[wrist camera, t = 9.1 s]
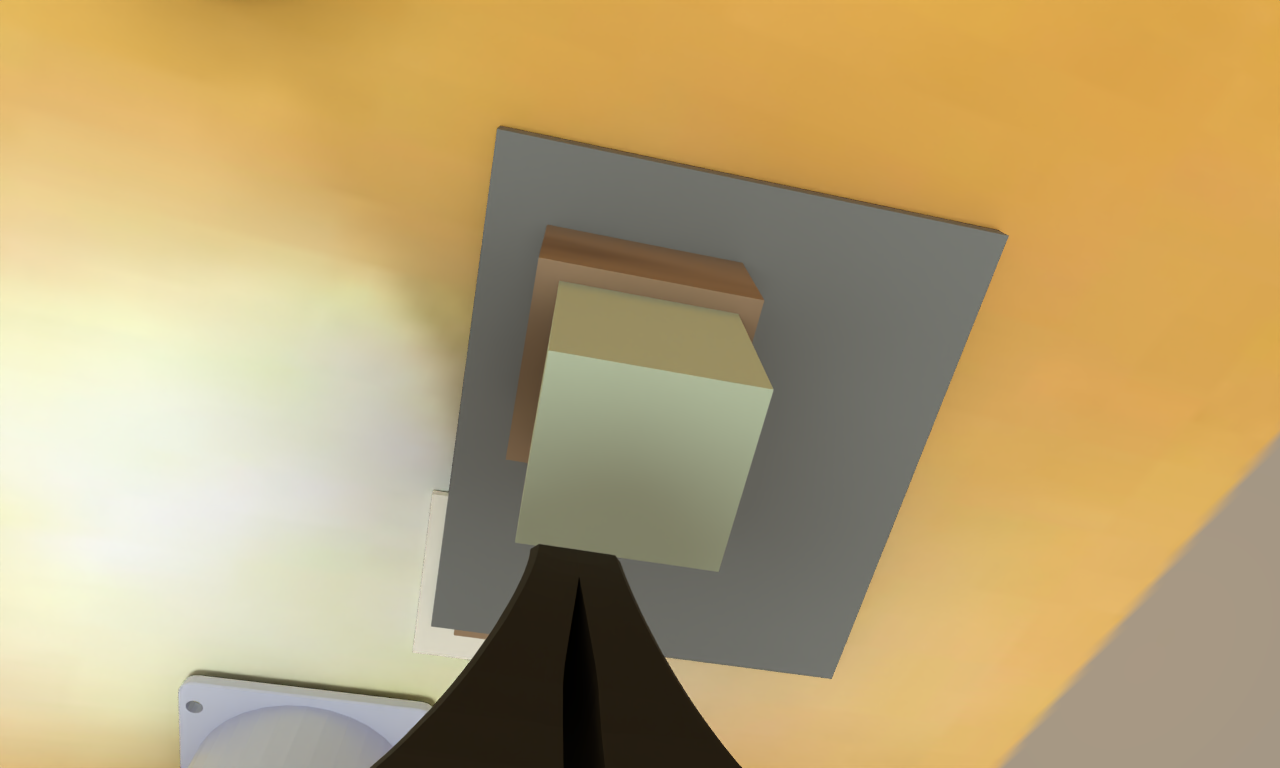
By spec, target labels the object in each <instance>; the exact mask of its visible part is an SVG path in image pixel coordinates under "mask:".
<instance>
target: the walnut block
mask: <svg viewBox="0 0 1280 768" xmlns="http://www.w3.org/2000/svg"><path fill="white" fill-rule="evenodd" d="M559 281H564V282H569V283H574V284H580V285H585V286H590V287H596V288H601V289H607V290H612V291H617V292H623V293H628V294H634V295H639V296H644V297H650V298H655V299H660V300H666V301H671V302H677V303H682V304H687V305H693V306H698V307H703V308H709V309H714V310H720V311H725V312H730V313H736V314H739V317H740V319H741V321H742V323H743V325H744V327H745V329H746V332H747V334H748V336H749V338H750V340H751V342H753V338H754V335H755V331H756V328H757V324H758V321H759V317H760V314H761V310H762V307H763V303H764V299H763V297H762V295H761V294H760V292H759V290H758V289H757V287H756V285H755V283H754V282H753V280H752V278H751V277H750V275H749V273H748V271H747V270H746V268H745V266H744V264H743V263H741V262H736V261H731V260H726V259H721V258H716V257H711V256H705V255H700V254H695V253H690V252H685V251H680V250H675V249H670V248H665V247H660V246H654V245H649V244H644V243H639V242H634V241H629V240H624V239H619V238H614V237H608V236H603V235H598V234H593V233H588V232H583V231H578V230H573V229H568V228H563V227H557V226H552V225H547V227H546V231H545V235H544V238H543V242H542V246H541V250H540V254H539V258H538V264H537V271H536V277H535V283H534V289H533V295H532V301H531V307H530V313H529V320H528V326H527V332H526V338H525V344H524V350H523V356H522V362H521V369H520V375H519V381H518V387H517V393H516V399H515V405H514V411H513V418H512V424H511V430H510V436H509V442H508V448H507V454H506V460H512V461H518V462H525V463H528V459H529V453H530V447H531V441H532V435H533V429H534V423H535V418H536V412H537V406H538V400H539V395H540V389H541V383H542V377H543V372H544V366H545V360H546V354H547V349H548V343H549V337H550V331H551V326H552V320H553V314H554V308H555V303H556V297H557V291H558V286H559Z"/></svg>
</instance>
